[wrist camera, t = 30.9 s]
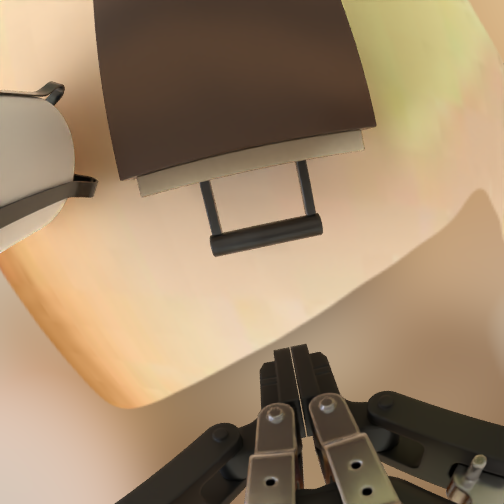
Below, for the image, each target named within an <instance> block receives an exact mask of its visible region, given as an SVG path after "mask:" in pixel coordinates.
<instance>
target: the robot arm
mask: <svg viewBox="0 0 504 504" xmlns="http://www.w3.org/2000/svg"><path fill="white" fill-rule="evenodd" d="M291 352H292V357H293V363H294V368H295V373H296V379H297V384H298V389H299V394H300V399H301V404H302V410H303V415H304V420H305V425H306V430H307V436H313V440H314V445H315V451H316V455H317V457H318V461H319V464H320V467H321V471H322V474H323V477H324V480H325V483H326V485H325V486H322V487H320V488H317V489H304V477H303V457H302V440H301V438H303V437H306V434H305V428H304V423H303V418H302V412H301V406H300V400H299V395H298V389H297V384H296V379H295V374H294V369H293V364H292V359H291V354H290V349H289V347H288V348H283V349H278V350H274V358H275V361H273V362H267V363H264V364H263V366H262V368H261V369H260V385H261V386H260V387H261V388H260V389H261V411H260V412H259V414H258V417H257V419H256V420H254V421H253V422H252V423H250V424H248V425H245V426H243V427H240V428H237V427H236V426H235V425H233V424H230V423H220V424H216V425H214V426H212V427H210V428H209V429H208V430H206V431H205V432H204V433H203V434H202V435H201V436H200V437H198V438H197V439H196V440H195V441H194V442H193V443H192V444H190V445H189V446H188V447H187V448H186V449H184V450H183V451H182V452H181V453H180V454H178V455H177V456H176V457H175V458H174V459H172V460H171V461H170V462H169V463H168V464H166V465H165V466H164V467H163V468H161V469H160V470H159V471H157V472H156V473H155V474H154V475H152V476H151V477H150V478H149V479H147V480H146V481H145V482H143V483H142V484H141V485H139V486H138V487H137V488H136V489H134V490H133V491H132V492H130V493H129V494H127V495H126V496H125V497H123V498H122V499H121V500H119V501H118V502H117V503H115V504H230V503H231V502H232V501H233V500H234V499H235V498H236V497H237V495H239V494H240V492H241V491H242V490H243V489H244V488H245V487H246V494H245V503H244V504H504V426H501V425H497V424H494V423H490V422H487V421H483V420H479V419H476V418H473V417H469V416H466V415H463V414H459V413H456V412H453V411H449V410H446V409H443V408H440V407H437V406H434V405H431V404H428V403H425V402H422V401H419V400H416V399H413V398H410V397H407V396H405V395H402V394H399V393H396V392H393V391H383V392H379V393H377V394H375V395H374V396H372V397H371V398H370V399H369V401H368V402H351V401H348V400H346V399H344V398H343V397H342V396H341V395H340V393H339V390H338V388H337V384H336V382H335V379H334V376H333V373H332V371H331V368H330V365H329V362H328V360H327V357H326V356H325V355H323V354H322V353H321V352H316V353H312V354H309V351H308V348H307V345H306V344H303V345H298V346H293V347H291ZM381 462H383V463H385V464H387V465H390V466H392V467H394V468H396V469H399V470H401V471H403V472H405V473H408V474H410V475H412V476H415V477H417V478H420V479H422V480H425V481H427V482H430V483H432V484H434V485H437V486H440V487H442V488H445V489H446V494H447V497H448V499H449V500H448V499H445V498H443V497H441V496H438V495H436V494H434V493H432V492H429V491H427V490H425V489H423V488H421V487H418V486H416V485H414V484H412V483H410V482H408V481H405V480H403V479H400V478H396V477H391V476H388V475H387V473H386V471H385V469H384V467H383V465H382V463H381Z"/></svg>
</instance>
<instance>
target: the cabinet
mask: <svg viewBox="0 0 504 504" xmlns="http://www.w3.org/2000/svg"><path fill="white" fill-rule="evenodd" d="M93 4H94V19H95V31H96V42H97V51H98V60H99V68H100V75H101V82H102V89H103V95H104V102H105V108H106V113H107V119H108V124H109V130H110V135H111V140H112V145H113V150H114V154H115V159H116V164H117V168H118V173H119V177H120V180H121V181H123V180H129V179H135V178H137V177H138V176H141V175H145V174H148V173H152V172H155V171H158V170H162V169H166V168H169V167H173V166H177V165H180V164H184V163H188V162H192V161H196V160H200V159H204V158H208V157H212V156H216V155H220V154H224V153H229V152H233V151H238V150H242V149H247V148H252V147H257V146H261V145H266V144H272V143H277V142H282V141H288V140H293V139H299V138H305V137H311V136H317V135H323V134H330V133H337V132H344V131H352V130H365V129H369V128H372V127H376V121H375V116H374V111H373V107H372V103H371V99H370V94H369V90H368V86H367V83H366V79H365V75H364V71H363V68H362V64H361V61H360V57H359V54H358V50H357V47H356V44H355V41H354V37H353V34H352V31H351V28H350V25H349V22H348V19H347V17H346V14H345V11H344V8H343V5H342V3H341V0H93Z"/></svg>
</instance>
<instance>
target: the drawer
mask: <svg viewBox="0 0 504 504" xmlns="http://www.w3.org/2000/svg"><path fill="white" fill-rule="evenodd" d="M357 151H364V143H363V138H362V133H361V130H352V131H344V132H337V133H330V134H323V135H317V136H311V137H305V138H299V139H293V140H288V141H282V142H277V143H272V144H266V145H261V146H257V147H252V148H247V149H242V150H238V151H233V152H229V153H224V154H220V155H216V156H212V157H208V158H204V159H200V160H196V161H192V162H188V163H184V164H180V165H177V166H173V167H169V168H166V169H162V170H158V171H155V172H152V173H148V174H145V175H141V176H138V177H137V182H138V186H139V190H140V194H141V197H146V196H149V195H153V194H157V193H160V192H164V191H168V190H172V189H175V188H179V187H183V186H187V185H191V184H195V183H199V182H200V187H201V191H202V195H203V199H204V203H205V208H206V212H207V216H208V220H209V224H210V228H211V232H212V235H211V236H210V245H211V249H212V253H213V255H214V256H215V257H218V256H222V255H227V254H232V253H237V252H241V251H246V250H251V249H256V248H260V247H265V246H270V245H274V244H279V243H284V242H289V241H294V240H298V239H303V238H308V237H313V236H317V235H322V233H323V227H322V222H321V218H320V216H319V214H318V213H316V211H315V206H314V200H313V195H312V189H311V184H310V179H309V174H308V169H307V164H306V160H308V159H313V158H319V157H325V156H331V155H337V154H344V153H350V152H357ZM291 162H295V163H296V168H297V173H298V178H299V183H300V188H301V194H302V199H303V204H304V209H305V214H306V215H305V216H300V217H295V218H290V219H285V220H281V221H276V222H271V223H266V224H262V225H257V226H252V227H248V228H243V229H238V230H234V231H229V232H224V233H222V229H221V224H220V220H219V216H218V212H217V208H216V203H215V199H214V195H213V191H212V186H211V182H210V180H211V179H216V178H220V177H224V176H229V175H233V174H238V173H242V172H247V171H251V170H256V169H261V168H266V167H271V166H276V165H281V164H286V163H291Z"/></svg>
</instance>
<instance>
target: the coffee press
mask: <svg viewBox="0 0 504 504" xmlns="http://www.w3.org/2000/svg"><path fill="white" fill-rule="evenodd" d="M64 90H65V87H64V85H63V84H59V83H56V82H52V81H51V82H49V83H47V84H46V85H45V86H44V87H42V88H41V89H39V90H38V91H36V92H22V91H9V90H0V253H1V252H3V251H4V250H6V249H8V248H9V247H11V246H13V245H14V244H16V243H18V242H19V241H21V240H23V239H24V238H26V237H28V236H29V235H31V234H33V233H34V232H36V231H38V230H40V229H41V228H43V227H44V226H46V225H47V224H49V223H50V222H51V221H52V220H53V219H54V218H55V217H56V216H57V215H58V213H59V212H60V211H61V209H62V207H63V206H64V204H65V202H66V200H67V198H69V197H93V196H94V193H95V190H96V186H97V183H98V181H97V180H96V179H95V178H92V177H88V176H83V175H77V174H74V166H75V155H74V146H73V141H72V137H71V133H70V130H69V128H68V125H67V123H66V121H65V119H64V118H63V116H62V115H61V113H60V112H59V111H58V110H57V109H56V108H55V107H54V105H55V104H56V103H57V102H58V101H59V100H60V99H61V97H62V96H63V94H64ZM50 93H51V94H50ZM49 94H50V95H49ZM47 95H49V96H48V97H47V98H46V100H44V99H41V98H38V97H43V96H47ZM34 96H37V97H34Z"/></svg>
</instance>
